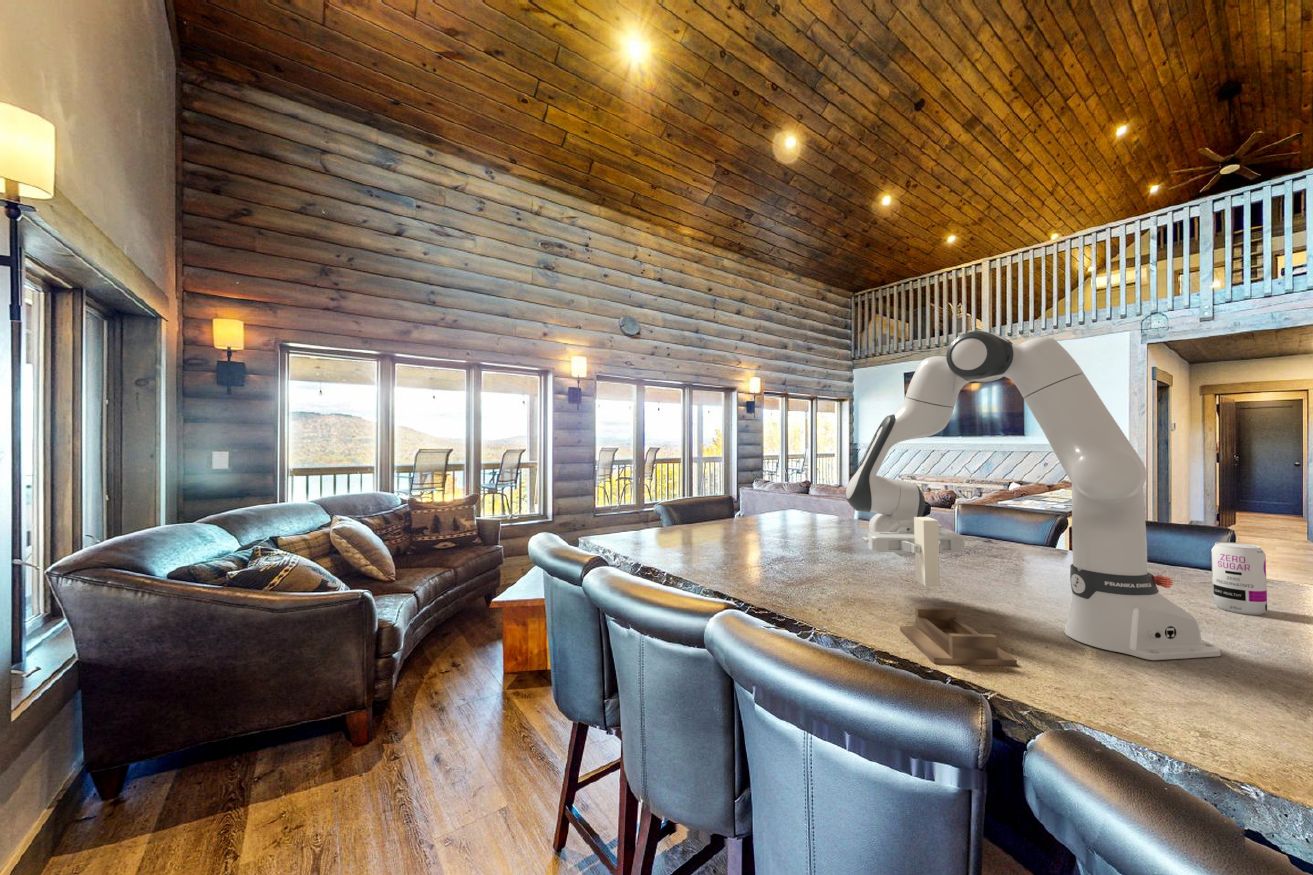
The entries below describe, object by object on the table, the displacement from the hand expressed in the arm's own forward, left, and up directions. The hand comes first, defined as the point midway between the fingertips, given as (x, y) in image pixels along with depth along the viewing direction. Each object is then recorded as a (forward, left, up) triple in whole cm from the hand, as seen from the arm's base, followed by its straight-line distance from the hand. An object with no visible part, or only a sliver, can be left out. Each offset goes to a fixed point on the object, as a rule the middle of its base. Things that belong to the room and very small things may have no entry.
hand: (928, 549), depth 108 cm
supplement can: (-75, -16, -17) cm, 78 cm away
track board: (0, +10, -17) cm, 20 cm away
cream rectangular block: (0, -1, -8) cm, 8 cm away
